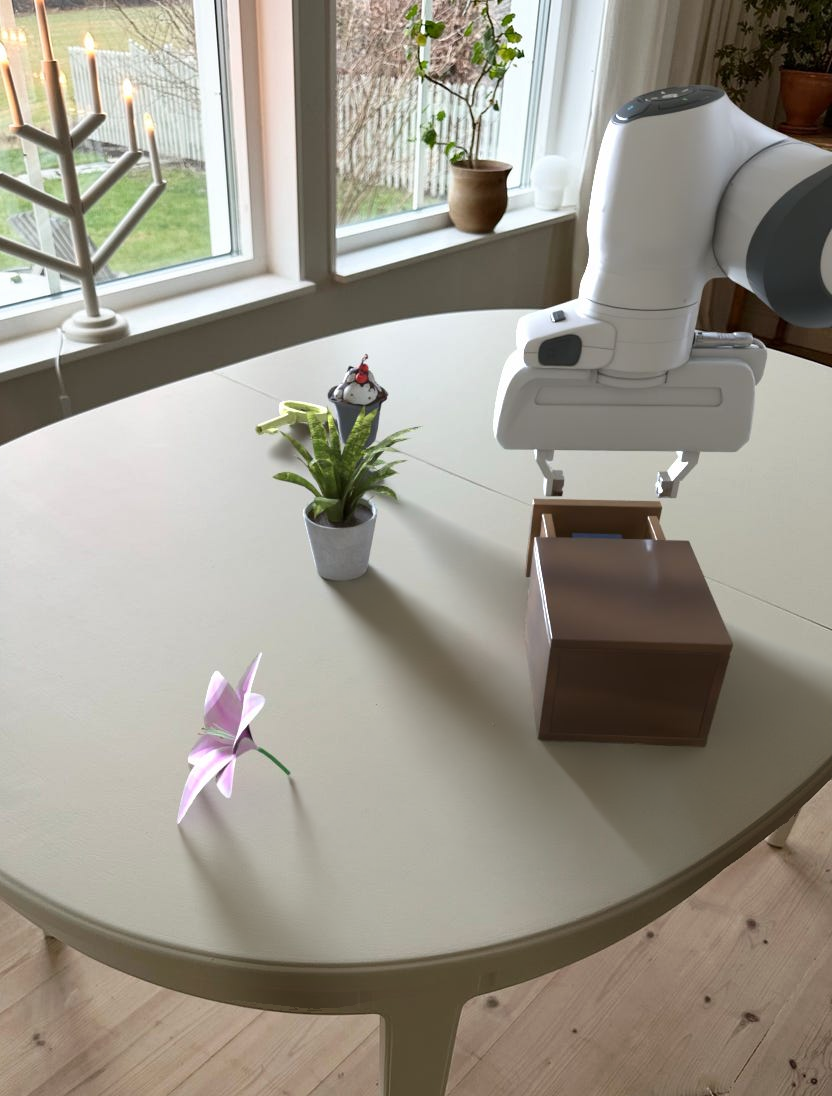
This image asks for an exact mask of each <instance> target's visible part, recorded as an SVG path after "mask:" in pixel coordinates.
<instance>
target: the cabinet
mask: <svg viewBox="0 0 832 1096" xmlns="http://www.w3.org/2000/svg"><path fill="white" fill-rule="evenodd" d="M523 630H524V631H523V632H524V639H525V641H524V642H525V648H526V656H527V664H528V671H529V672H528V673H529V680H530V688H531V697H532V703H533V711H534V719H535V727H536V735H537V740H538V741H548V742H549V741H550V742H551V741H553V742H577V743H578V742H579V743H603V744H605V743H607V744H630V745H631V744H633V745H654V746H655V745H656V746H657V745H658V746H680V747H681V746H682V747H685V746H686V747H706V746H707V742H708V738H709V735H710V732H711V728H712V724H713V720H714V717H715V713H716V710H717V705H718V702H719V698H720V695H721V691H722V687H723V684H724V680H725V676H726V673H727V668H728V665H729V661H730V658H731V653H732V651H733V647H734V644H733V641H732V638H731V636H730V634H729V631H728V629H727V627H726V625H725V622H724V620H723V618H722V615H721V613H720V610H719V608H718V606H717V603H716V601H715V599H714V596H713V594H712V591H711V589H710V587H709V585H708V582H707V580H706V576H705V574H704V573H703V571H702V568H701V565H700V563H699V560H698V558H697V556H696V554H695V551H694V549H693V546H692V545H691V542H690V540H680V539H679V540H678V539H666V540H643V539H601V538H559V537H535V538H534V547H533V556H532V565H531V574H530V578H529V583H528V592H527V602H526V610H525V619H524V629H523Z"/></svg>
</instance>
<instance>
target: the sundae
mask: <svg viewBox="0 0 832 1096" xmlns="http://www.w3.org/2000/svg"><path fill="white" fill-rule="evenodd" d="M368 359H369V354H367V353H365V354H364V357H362V359H361V362H360V364H358V366H357V367H356V366H355V367H354V366H352V365H349V366H348V368H347V370H346V373H345V376H344V379H343V381H342V382H341V383H340V384H338V385H334V386H332V387H331V388H330V389H329V390H328V392H327V395H326V397H327V400H328V402H331V403H332V404H333V405H334V406H333V407H334V409H335V414H336V420H337V427H338V428H337V429H338V434H339V438H340V440H341V442H342V443H343V445H345V443H346V441H347V438H348V436H349V434H350V432H351V430H352V428H353V426H354V424H355V422H356V420H357V417H358V415H359V413H360V412H361V410H362V408H363V406H364V405H365V416H366V415H368V414H369V413H370V412H372V411H373V410H374V409H377V408H378V409H377V413H376V415H375V417H374V419H373V420H372V422H371V428H370V435H369V437H368V439H367V441H366V443H365V445H364V447H363V449H362V450H365V449H367V448H369V447H371V446H372V445H373V444H374V443H375V441H376V440H377V435H378V432H379V431H378V430H379V423H380V422H379V421H380V416H381V415H380V414H381V410H382V405H383V403H384V402H386V401H387V400H388V397H389V392H388V391H387V390H386V389H385V388H384V387H383V386H381V385H379V383H378V382H377V381H376V378H375V376H374V373H373V372H372V371H371V370H370V367H369V365H368V364H367V363H364V362H366V361H367V360H368ZM365 416H364V418H365ZM364 458H365V455H364V456H363V457H362V458H361V459H360V460H359V461H358V462H357V463H356V466H355V469H354V471H355V470H356V469H357V467H358V466H359V465H360V463H361V462H362V461H363V459H364ZM375 471H377V470H375V469H369V471H368V472H367V474H366V476H365V477H364V479H363V481H364V480H365V479H366V478H367V477H368V476H369V475H371V474H372V473H373V472H375ZM363 481H362V482H363ZM357 482H358V481H357ZM362 482H361V483H362ZM356 484H357V483H356ZM355 486H356V485H355Z"/></svg>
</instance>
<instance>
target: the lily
mask: <svg viewBox="0 0 832 1096" xmlns="http://www.w3.org/2000/svg"><path fill="white" fill-rule="evenodd" d="M261 657H262V652H259V653H258V654H257V655H256V656H255V658H254V659H252V661H251V663H250V664H249V666H248V667H247V668H246V670H245V671H244V673H243V674H242V676H241V678H240V679H239V681H238V683H237V685H236V688H235V689H234V687H233V686H232V685H231V684H230V683H229V681H228V680H227V679H226V678H225V677H224V676H223V675H222V674H221V672H220V671H218V670H216V671H214V672H213V674H212V676H211V678H210V681H209V684H208V687H207V692H206V696H205V700H204V706H203V723H204V726H203V727H201V730H202V731H203V732H199V733H197V735H199V738H198V739H197V740H196V742H195V744H194V745H193V747H192V748H191V750H190V752H189V753H188V756H187V757H188V758H187V762H188V763H189V764H191V765H194V767H193V768H192V769H191V771H190V772H189V774H188V777H187V780H186V781H185V784H184V787H183V791H182V794H181V798H180V803H179V807H178V811H177V818H176V823H177V825H178V824H180V823H181V822H182V820H183V819H184V817H185V815H186V813H187V811H188V810H189V808H190V806H191V805H192V803H193V802H194V801H195V799H196V797H197V795H198V794H199V793H200V792H201V791H202V789H203V788H204V787H205V786H206V784H207V783H208V782H209V781H211V779H212V778H213V777H215V784H216V787H217V788H218V790H219V792H220V793H221V794H222V795H223V796H224V797H225V798H226V799H230V798H231V796H232V792H233V783H234V775H235V766H236V759H238V758H239V757H241V755H244V754H245V753H247V752H249V751H250V750H255V751H257V752H259V753H261V754H263V755H264V756H265V757H267V759H270V760H271V761H272V762H273V763H274V764H275V765H276V766H277V767H279V769H280V770H281V771H283V773H285V774H286V776H290V775H291V771H289V769H288V768H287V767H285V766H284V765H283V763H282V762H280V761H279V759H277V758H276V757H275V756H274V755H273V754H271V753H269V752H268V751H267V750H265V749H264V748H263V747H261V746H260V745H258V744H257V743H256V742H255V741H254V738H253V735H252V731H251V728H250V723H251V722H252V721H253V719H254V718H255V717H256V716H257V715H258V713H259V712H260V711H261V710H262V708H263V707H264V705H265V703H266V697H264V696H263V695H261V694H260V693H259V694H258V693H255V692H251V690H252V685H253V683H254V679H255V677H256V672H257V670H258V666H259V663H260V660H261Z"/></svg>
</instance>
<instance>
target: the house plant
mask: <svg viewBox="0 0 832 1096" xmlns="http://www.w3.org/2000/svg"><path fill="white" fill-rule="evenodd" d="M305 408H306V410H305V412H306V414H307V419H308V423H307V424H308V428H309V431H310V437H311V438H310V439H309V441H312V450H313V454H314V457H312V455H311V453H310V452H309V451H308V449H307V448H306V447H305V446H303V444H302V443H301V442H299V441H298V440H297V439H296V438H294V437H293V436H292V435H290V434H288V433H285V432H283V431H281V430H279V433H280V434H281V435H282V436H283V437H284V438H285V439H286V440H288V441H289V442H290V444H291V446H292V447H293V448H294V449H295V451H296V452H297V453H298V454H299V455H301V457H302V458H303V459H304V461H305V462H306V463H305V462H304V461H303V459H302V458H300V457H299V456H297V455H295V454H292V453H291V456H293V457H295V458H296V459H297V460H299V461H300V462H302V464H303V465H304V466H305V467H306V468H307V469H308V471H309V473H310V475H311V476H312V477H313V480H315V482H316V483H317V485H318V487H319V490H320V492H319V490H318V489H317V488H316V487H315V486H314V485H313V484H312V482H310V481H309V480H307V479H306V478H304V477H303V476H300V475H299V474H297V473H293V472H291V471H282V472H278V473H276V474H274V475H273V476H272V477H271V478H270V480H272V479H275V480H278V481H282V482H287V483H291V484H295V485H298V486H301V487H302V488H303V487H304V488H305V489H307V490H308V491H310V492H311V493H312V494H313V495H314V496H315V497H314V498H313V499H312V500H311V501H309V502H308V503H307V504H306V505H305V506H304V508H303V510H302V511H303V512H302V515H303V520H304V524H305V528H306V532H307V535H308V541H309V545H310V550H311V553H312V557H313V561H314V566H315V569H316V572H317V574H318V575H319V576H320V577H322V578H323V579H327V580H330V581H336V582H344V581H351V580H356V579H357V578H360V577H362V576H363V575H365V573H366V572H367V570H368V567H369V562H370V556H371V551H372V544H373V539H374V535H375V529H376V522H377V516H378V508H377V506H376V504H375V503H373V502H372V501H371V499H373V498H374V497H375V495H373V496H371V497H370V498H369V499H368V498H366V497H364V495H366V493H367V492H376V493H377V494H376V496H378V495H386V496H387V497H390V498H393V499H394V500H395V501H396V502H397V503H398V505H400V503H399V500H398V497H397V494H396V492H395V491H394V490H393V489H391V488H390V487H389V486H386V485H381V484H376V483H378V482H380V481H383V480H385V479H387V478H389V477H391V476H394V475H396V474H399V472H398V471H396V470H395V469H394V467H393V466H396V465H398V464H401V463H405V462H407V461H408V459H402V460H394V461H390V462H386V461H384V460H382V459H379V457H381V455H382V454H384V453H385V452H389V453H398V454H402V452H401V451H400V450H397V449H395V448H392V446H394V445H395V444H396V443H400V442H404V441H406V440H410V439H411V437H409V438H408V437H407V438H405V437H404V438H398V437H400V436H402V435H404V434H407V433H410V432H412V431H415V430H418V429H420V428H423V426H422V425H419V426H414V427H409V428H405V429H401V430H399V431H396V432H394V433H392V434H391V435H388V436H387V437H386V438H384V439H382V440H381V441H380V442H379V443H377V444H375V445H371V446H369V447H368V448H366V449H365V450H362V449H363V447H364V445H365V443H366V441H367V439H368V437H369V435H370V428H371V422H372V420H373V419H374V417H375V415H376V413H377V409H378V408H377V409H374V410H373V411H372V412H370V413H369V414H368V415H366V416H365V405H364V406H363V408H362V410H361V412H360V413H359V415H358V417H357V420H356V422H355V424H354V426H353V428H352V430H351V432H350V434H349V436H348V438H347V441H346V443H345V444H344V445H343V450H342V447H341V441H340V440H341V438H340V434H339V431H338V430H337V429H338V428H337V427H336V424H335V421H334V417H333V414H332V412H331V410H330V409H329V407H328V406H326V408H327V415H328V421H327V422H328V434H329V438H328V434H327V431H326V428H325V426H324V425H323V423H321V422H320V421H319V420H318V419H317V417H316V415H315V413H316V412H314V411H313V410H311V409H310V408H309V407H307V406H306V407H305ZM364 416H365V418H364ZM329 440H330V441H329ZM363 456H364V459H363V461H362V462H361V463H360V465H359V466H358V467H357V469H356V470H355V471H354V469H355V466H356V463H357V462H358V461H359V460H360V459H361V458H362V457H363ZM314 458H315V459H314ZM384 464H385V465H384ZM380 465H383V466H382V467H381V468H379V469H377V468H376V467H377V466H380ZM392 468H393V469H392ZM369 469H373V470H376V471H375V472H373V473H372V474H371V475H369V476H368V477H367V478H366V479H365V480H364V481H363V479H364V477H365V476H366V474H367V472H368V471H369ZM357 481H358V482H357ZM362 481H363V482H362ZM361 482H362V483H361ZM356 483H357V484H356ZM355 485H356V486H355Z"/></svg>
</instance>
